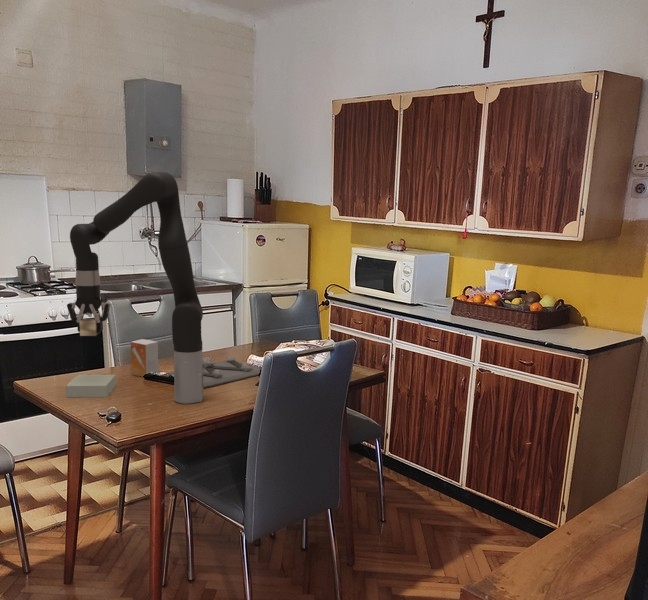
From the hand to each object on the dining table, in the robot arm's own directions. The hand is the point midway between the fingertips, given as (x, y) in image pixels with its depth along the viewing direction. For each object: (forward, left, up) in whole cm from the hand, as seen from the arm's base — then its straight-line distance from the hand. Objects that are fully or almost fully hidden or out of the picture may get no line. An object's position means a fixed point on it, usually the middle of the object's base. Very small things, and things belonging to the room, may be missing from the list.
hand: (89, 332), depth 197 cm
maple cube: (0, 0, 0) cm, 0 cm away
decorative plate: (-42, -18, -21) cm, 50 cm away
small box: (-14, -20, -21) cm, 32 cm away
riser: (0, 0, -21) cm, 21 cm away
